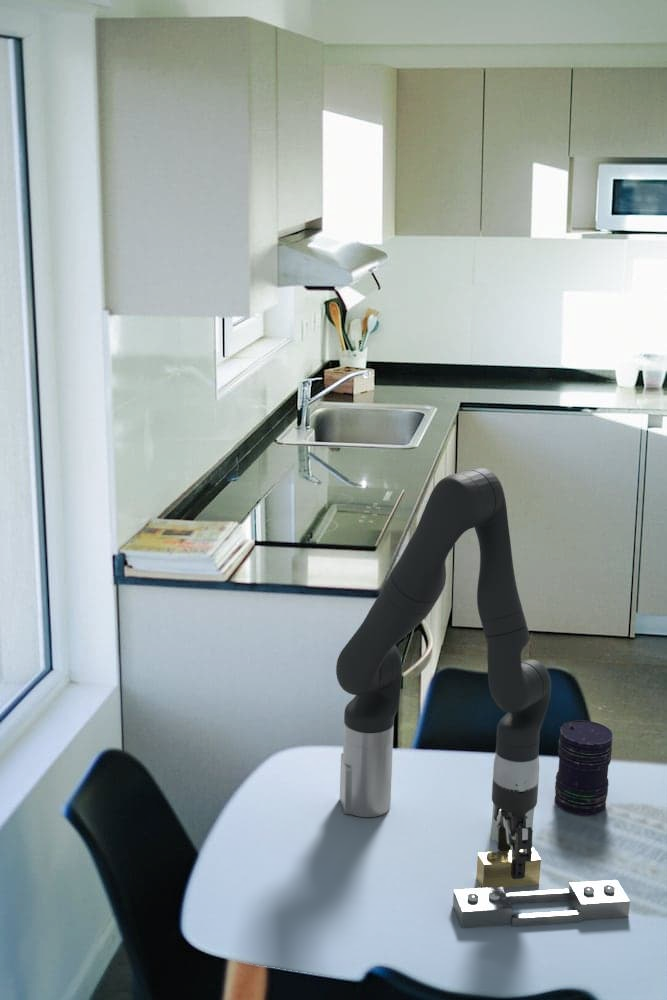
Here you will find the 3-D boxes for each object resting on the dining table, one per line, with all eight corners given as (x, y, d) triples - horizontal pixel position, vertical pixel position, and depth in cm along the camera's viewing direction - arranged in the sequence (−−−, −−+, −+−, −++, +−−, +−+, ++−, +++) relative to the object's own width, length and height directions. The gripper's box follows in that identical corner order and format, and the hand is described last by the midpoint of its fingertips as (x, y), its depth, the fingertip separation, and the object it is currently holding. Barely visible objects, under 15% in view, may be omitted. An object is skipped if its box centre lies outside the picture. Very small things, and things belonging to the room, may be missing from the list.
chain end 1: (462, 929, 199) (463, 910, 198) (452, 903, 206) (453, 884, 205) (546, 924, 201) (548, 904, 200) (534, 898, 208) (535, 879, 207)
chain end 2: (546, 924, 201) (548, 904, 200) (534, 898, 208) (535, 879, 207) (629, 918, 203) (631, 899, 202) (614, 893, 210) (616, 875, 209)
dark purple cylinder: (614, 799, 240) (621, 729, 235) (595, 822, 232) (602, 749, 227) (565, 784, 245) (571, 715, 240) (545, 806, 237) (551, 734, 232)
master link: (482, 890, 210) (484, 861, 208) (476, 878, 213) (478, 850, 212) (538, 885, 212) (541, 856, 210) (531, 873, 215) (534, 844, 213)
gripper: (482, 758, 213) (478, 842, 217) (505, 799, 199) (500, 888, 204) (525, 756, 214) (520, 840, 218) (550, 797, 200) (544, 885, 205)
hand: (510, 863), depth 211 cm, fingers open, 8 cm apart
